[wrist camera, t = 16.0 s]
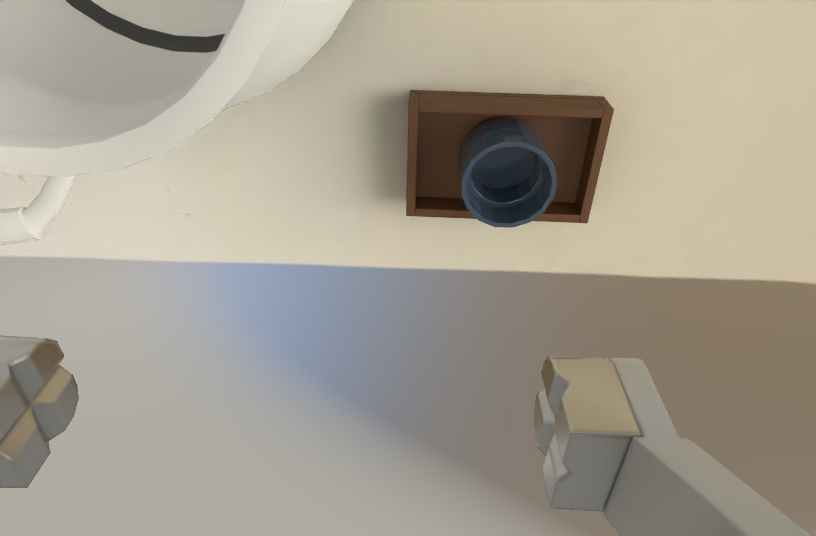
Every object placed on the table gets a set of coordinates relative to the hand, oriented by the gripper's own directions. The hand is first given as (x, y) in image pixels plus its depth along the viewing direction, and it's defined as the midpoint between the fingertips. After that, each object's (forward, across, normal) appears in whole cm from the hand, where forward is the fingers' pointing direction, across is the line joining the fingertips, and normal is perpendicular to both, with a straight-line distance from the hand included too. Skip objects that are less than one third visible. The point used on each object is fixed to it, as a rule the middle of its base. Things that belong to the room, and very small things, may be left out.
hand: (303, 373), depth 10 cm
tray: (+29, -7, +8) cm, 31 cm away
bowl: (+28, -7, +8) cm, 30 cm away
